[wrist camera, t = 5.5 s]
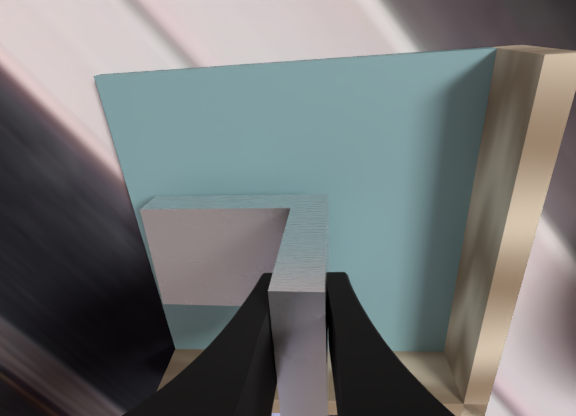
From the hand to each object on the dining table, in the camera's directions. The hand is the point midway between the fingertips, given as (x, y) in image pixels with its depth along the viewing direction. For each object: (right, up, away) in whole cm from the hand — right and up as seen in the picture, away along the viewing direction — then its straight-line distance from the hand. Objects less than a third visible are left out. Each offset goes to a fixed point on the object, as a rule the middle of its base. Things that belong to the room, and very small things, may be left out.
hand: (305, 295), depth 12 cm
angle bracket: (-3, +1, +5) cm, 6 cm away
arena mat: (0, +2, +7) cm, 7 cm away
